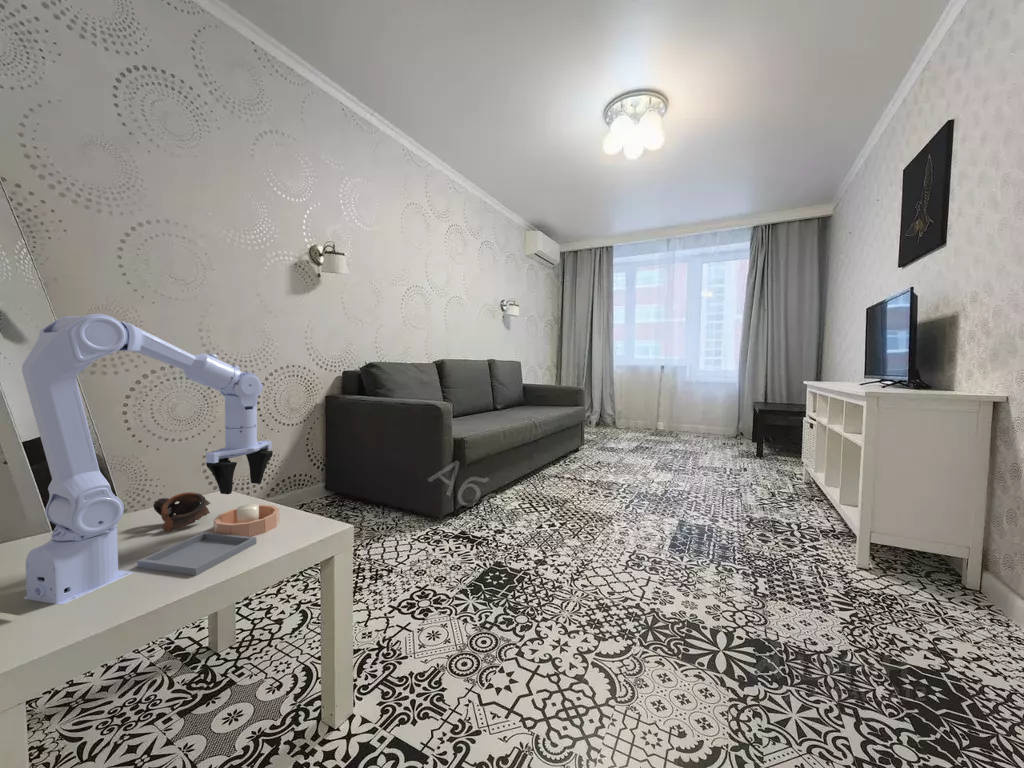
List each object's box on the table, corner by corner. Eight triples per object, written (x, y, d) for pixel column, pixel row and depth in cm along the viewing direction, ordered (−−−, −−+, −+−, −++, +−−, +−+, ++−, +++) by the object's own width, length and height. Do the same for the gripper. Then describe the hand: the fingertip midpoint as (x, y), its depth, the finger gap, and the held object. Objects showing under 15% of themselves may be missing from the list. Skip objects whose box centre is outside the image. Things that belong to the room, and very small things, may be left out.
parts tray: (196, 579, 66) (196, 568, 66) (137, 570, 69) (137, 560, 69) (256, 546, 79) (256, 537, 79) (204, 540, 81) (204, 531, 81)
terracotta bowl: (248, 544, 80) (248, 527, 79) (200, 538, 82) (200, 521, 82) (290, 522, 91) (290, 507, 91) (247, 517, 93) (247, 503, 93)
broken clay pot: (222, 517, 95) (219, 493, 91) (192, 550, 86) (187, 525, 82) (170, 505, 94) (166, 480, 90) (135, 537, 85) (128, 511, 81)
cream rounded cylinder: (248, 531, 84) (248, 511, 84) (232, 530, 85) (232, 509, 85) (263, 524, 88) (263, 504, 88) (248, 522, 89) (247, 503, 88)
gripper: (226, 432, 77) (227, 500, 78) (282, 422, 92) (282, 480, 92) (197, 431, 79) (197, 497, 79) (256, 421, 93) (257, 478, 94)
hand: (241, 488), depth 86 cm, fingers open, 7 cm apart
